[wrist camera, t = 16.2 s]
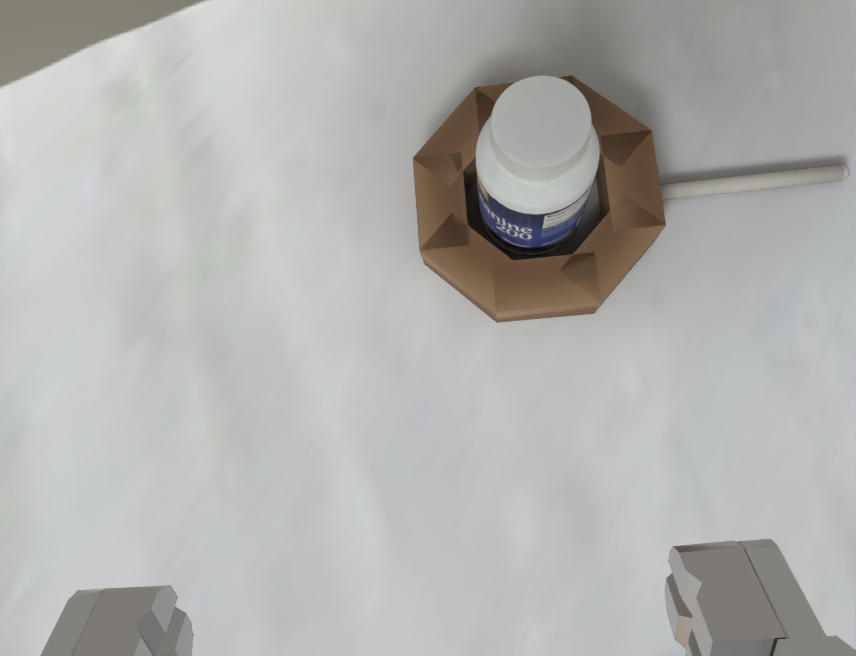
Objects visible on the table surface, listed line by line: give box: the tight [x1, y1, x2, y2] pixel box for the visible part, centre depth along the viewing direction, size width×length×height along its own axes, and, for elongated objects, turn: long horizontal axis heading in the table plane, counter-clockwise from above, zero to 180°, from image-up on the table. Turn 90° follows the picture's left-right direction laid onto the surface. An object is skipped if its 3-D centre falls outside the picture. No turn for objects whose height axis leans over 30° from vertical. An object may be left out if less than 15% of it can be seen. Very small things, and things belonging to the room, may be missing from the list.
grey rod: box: [660, 165, 850, 200], centre depth 35 cm, size 10×1×1 cm, turn 94°
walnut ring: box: [413, 76, 666, 322], centre depth 35 cm, size 12×12×2 cm
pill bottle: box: [476, 75, 600, 255], centre depth 31 cm, size 5×5×10 cm
